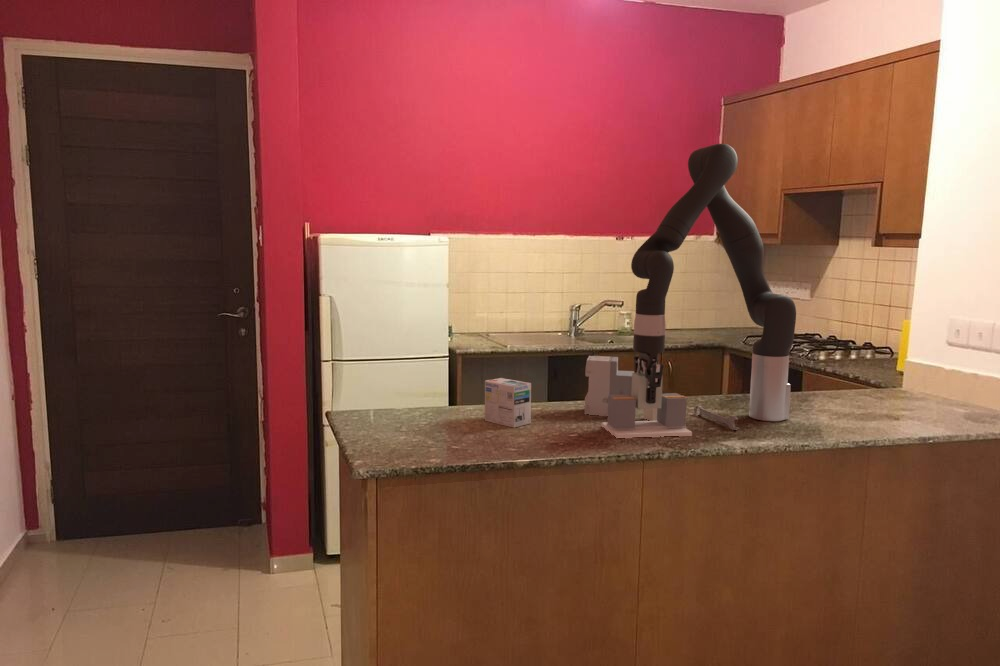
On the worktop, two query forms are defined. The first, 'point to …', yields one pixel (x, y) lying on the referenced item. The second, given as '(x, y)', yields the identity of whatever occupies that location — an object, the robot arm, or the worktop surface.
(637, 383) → the block
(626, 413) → the rail board
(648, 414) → the beige block
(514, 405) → the light bulb box
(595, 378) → the circuit breaker
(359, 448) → the worktop surface
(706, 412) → the combination wrench
